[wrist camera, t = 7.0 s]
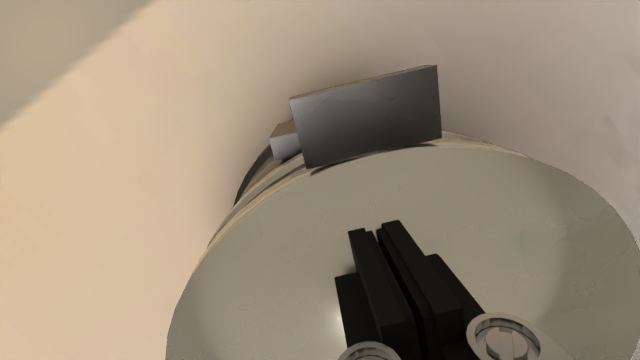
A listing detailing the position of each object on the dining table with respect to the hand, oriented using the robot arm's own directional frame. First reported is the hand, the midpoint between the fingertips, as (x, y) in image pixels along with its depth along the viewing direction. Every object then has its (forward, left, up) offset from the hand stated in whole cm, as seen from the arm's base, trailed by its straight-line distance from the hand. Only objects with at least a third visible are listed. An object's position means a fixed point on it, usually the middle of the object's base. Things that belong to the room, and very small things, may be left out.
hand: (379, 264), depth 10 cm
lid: (0, +5, -2) cm, 5 cm away
